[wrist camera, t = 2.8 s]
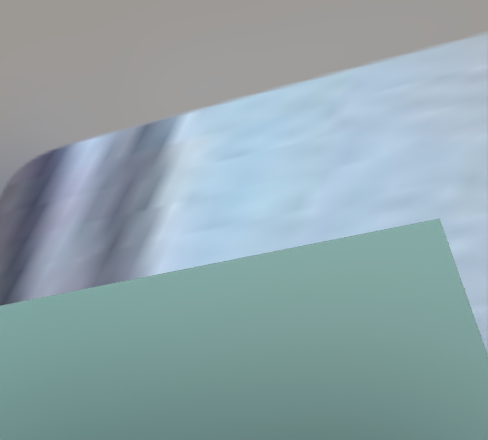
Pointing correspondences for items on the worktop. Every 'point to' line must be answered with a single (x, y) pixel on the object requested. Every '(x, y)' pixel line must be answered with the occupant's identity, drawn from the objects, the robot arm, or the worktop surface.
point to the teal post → (256, 350)
